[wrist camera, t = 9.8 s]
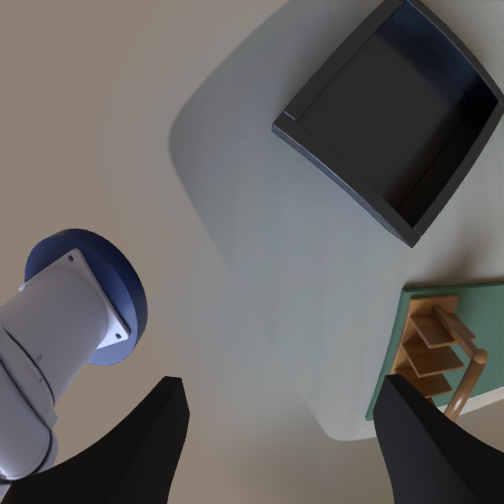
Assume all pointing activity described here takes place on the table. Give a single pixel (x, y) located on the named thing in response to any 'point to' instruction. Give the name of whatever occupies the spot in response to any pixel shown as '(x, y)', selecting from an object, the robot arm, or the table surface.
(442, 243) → the table surface
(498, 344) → the drying mat
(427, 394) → the dish rack
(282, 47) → the table surface
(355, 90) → the open box
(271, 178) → the table surface
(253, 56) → the table surface
